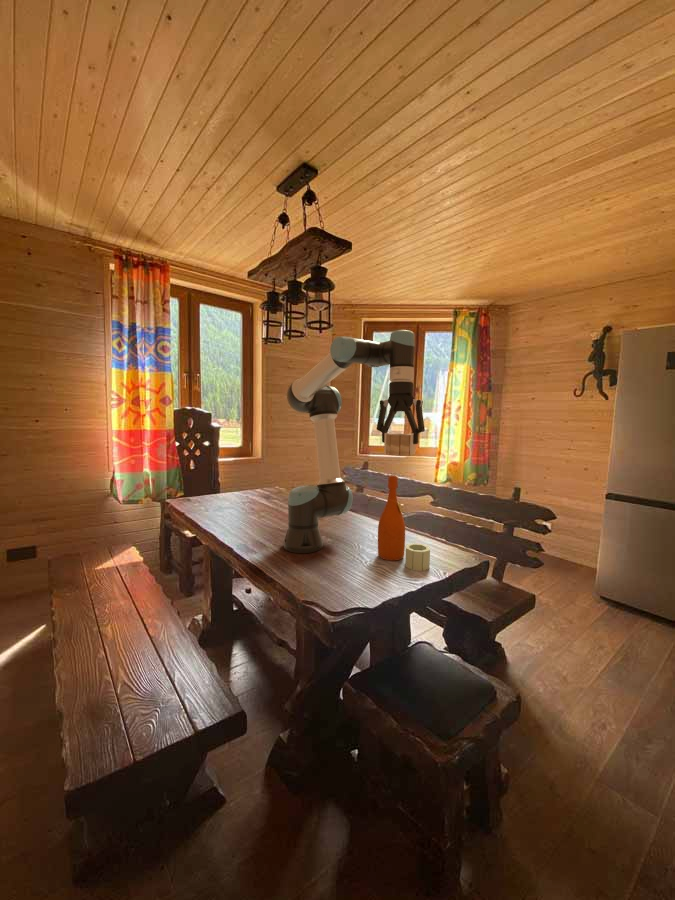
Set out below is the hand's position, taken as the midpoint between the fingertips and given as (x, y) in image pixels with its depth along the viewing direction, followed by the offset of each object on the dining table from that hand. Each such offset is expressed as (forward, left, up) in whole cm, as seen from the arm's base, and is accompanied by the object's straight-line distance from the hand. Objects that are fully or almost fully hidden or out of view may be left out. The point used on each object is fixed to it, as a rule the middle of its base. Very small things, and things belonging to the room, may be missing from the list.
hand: (399, 453), depth 119 cm
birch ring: (0, 0, 0) cm, 0 cm away
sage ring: (+4, +9, -39) cm, 40 cm away
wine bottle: (-7, +12, -39) cm, 42 cm away
